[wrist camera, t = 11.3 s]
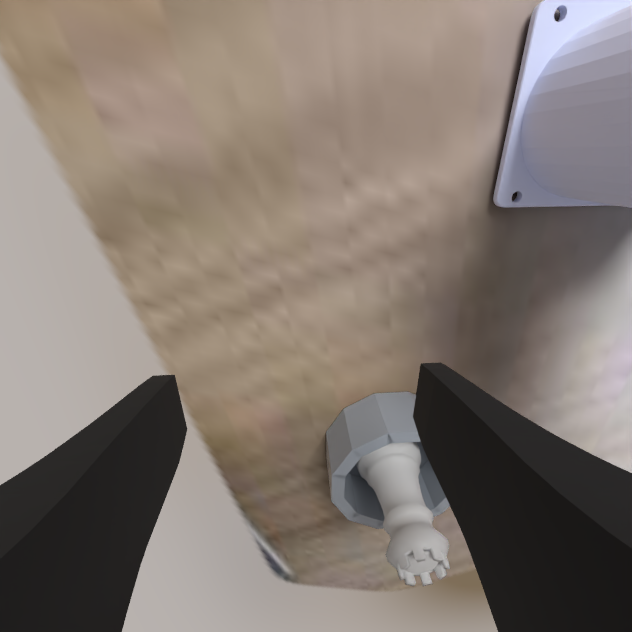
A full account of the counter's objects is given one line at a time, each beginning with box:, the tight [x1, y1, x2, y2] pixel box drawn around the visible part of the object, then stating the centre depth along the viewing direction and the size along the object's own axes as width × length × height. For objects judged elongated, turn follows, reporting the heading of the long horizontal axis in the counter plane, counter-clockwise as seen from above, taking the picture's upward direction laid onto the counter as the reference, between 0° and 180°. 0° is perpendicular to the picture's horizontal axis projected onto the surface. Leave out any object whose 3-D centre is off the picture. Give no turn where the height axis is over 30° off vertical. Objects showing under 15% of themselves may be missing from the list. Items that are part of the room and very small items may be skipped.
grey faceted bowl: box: [326, 392, 450, 529], centre depth 22 cm, size 9×9×4 cm
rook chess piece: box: [356, 442, 450, 586], centre depth 20 cm, size 4×4×8 cm
